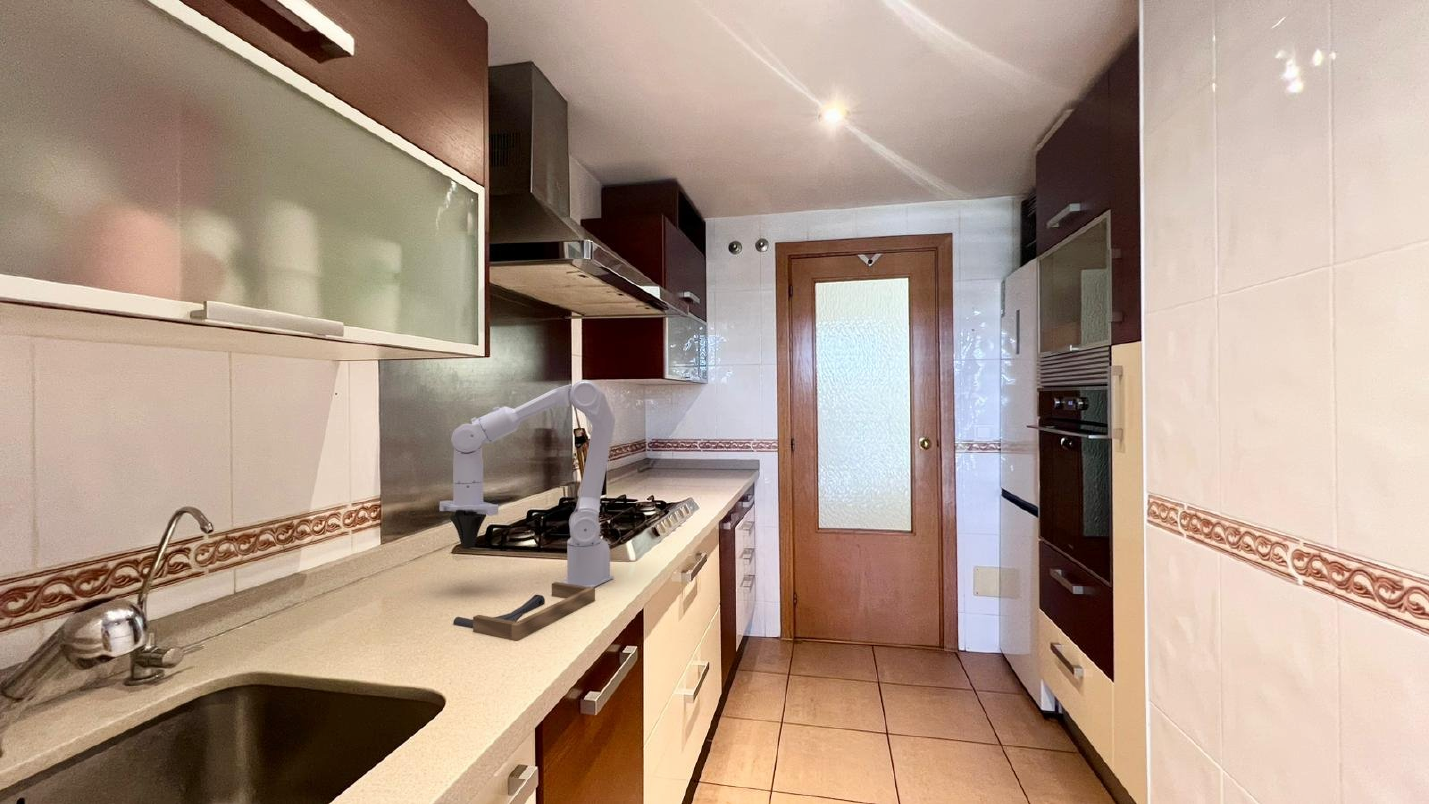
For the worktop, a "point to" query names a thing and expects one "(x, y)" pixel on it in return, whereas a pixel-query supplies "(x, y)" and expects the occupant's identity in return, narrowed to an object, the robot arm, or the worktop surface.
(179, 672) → the worktop surface
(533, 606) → the bracket
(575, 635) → the worktop surface
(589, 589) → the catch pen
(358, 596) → the worktop surface
